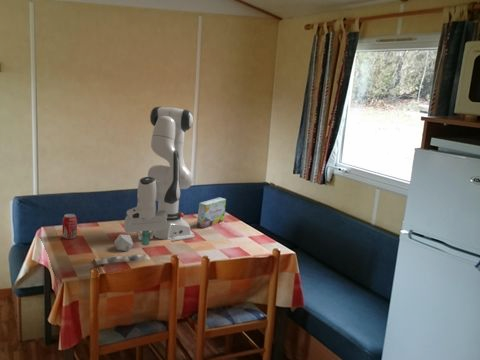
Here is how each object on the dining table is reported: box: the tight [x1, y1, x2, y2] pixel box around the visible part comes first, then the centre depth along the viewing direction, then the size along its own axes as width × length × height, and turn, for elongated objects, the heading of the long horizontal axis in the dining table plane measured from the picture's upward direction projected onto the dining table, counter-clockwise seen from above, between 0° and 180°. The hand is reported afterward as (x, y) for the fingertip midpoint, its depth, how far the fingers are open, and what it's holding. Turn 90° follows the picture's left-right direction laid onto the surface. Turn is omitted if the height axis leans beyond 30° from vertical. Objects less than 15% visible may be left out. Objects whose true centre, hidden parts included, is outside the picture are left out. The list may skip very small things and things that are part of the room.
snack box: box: [196, 196, 227, 229], centre depth 287 cm, size 21×6×15 cm, turn 147°
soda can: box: [62, 213, 78, 240], centre depth 244 cm, size 7×7×12 cm
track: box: [92, 253, 151, 268], centre depth 222 cm, size 26×7×1 cm, turn 117°
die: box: [113, 233, 134, 252], centre depth 234 cm, size 8×9×10 cm
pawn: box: [141, 231, 151, 247], centre depth 226 cm, size 4×4×8 cm
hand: (145, 238), depth 226 cm, fingers closed on pawn, 4 cm apart
